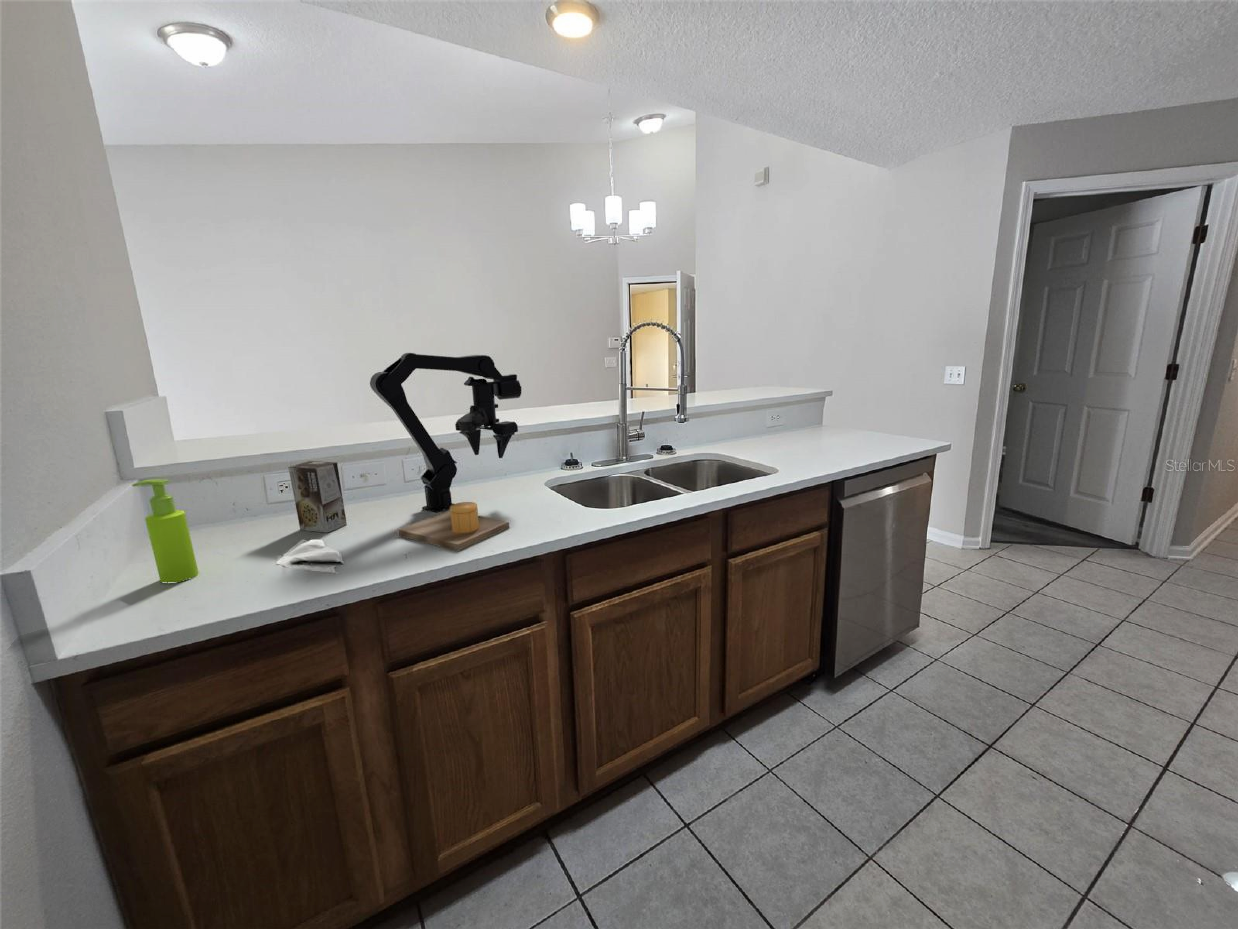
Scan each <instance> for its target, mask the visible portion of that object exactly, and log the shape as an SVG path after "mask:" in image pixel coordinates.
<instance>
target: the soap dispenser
mask: <svg viewBox="0 0 1238 929" xmlns="http://www.w3.org/2000/svg"><path fill="white" fill-rule="evenodd" d="M168 483H170V481H169V479H165V478H153V479H146V480H141V481H138V482H136V483H133V484H131V486H132V487H134V488H135V487H139V486H151V487H152V491H153V496H151V497H150V498H149V504H150V508H151V512H152V514H150V515H147V516H146V517H144V518H145V520H144V521H145V524H146V529H147V532H148V537H149V540H150V543H151V548H152V551H153V557H154V560H155V566H156V568H157V569H156V570H157V572H158V573H157V574H158V577H159V581H160V583H161V582H167V583H168V582H180V581H183V580H186V579H189V578H192V579H194V578H196V577H197V576H198V575H199V569H198V565H197V561H196V556H195V551H194V548H193V543H192V539H191V534H190V529H189V525H188V521H187V517H186V512H185V510H182V509H177V508H176V506H175V501H174V496H173V494H169V493H166V492H167V491H166V488H165V484H168ZM196 575H197V576H196ZM195 576H196V577H195ZM193 577H194V578H193ZM189 580H190V579H189ZM183 582H184V581H183ZM180 583H181V582H180Z"/></svg>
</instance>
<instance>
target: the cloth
mask: <svg viewBox="0 0 1238 929" xmlns="http://www.w3.org/2000/svg"><path fill="white" fill-rule="evenodd" d="M309 561H310V562H309ZM311 562H312V563H311ZM330 562H332V563H330ZM338 562H340V563H341V564H345V562H344V561H343V559H342V555H341V554H340V552H339V551H337V550H334V549H332V548H330V547H328V546H326V544H325V543H324V541H323V539H310V540H306V539H305V538H303V539H301V540H300V541H298V542H297V543H296V544H295V545H293V546H292V547H291V548H290V549H289V550H288V551H287V552H286V553H283V555H282V557H280V559H278V560H277V561H276V563H275V565H276V566H281V567H285V568H288V569H289V568H290V569H296V570H305V571H313V572H314V571H315V572H317V571H318V572H321V573H332V574H338V572H337V571H336V570H335V568H336V564H333V563H338ZM319 563H320V564H319ZM321 563H322V564H321ZM323 563H324V564H323ZM325 563H326V564H325ZM327 563H330V564H327Z"/></svg>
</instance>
